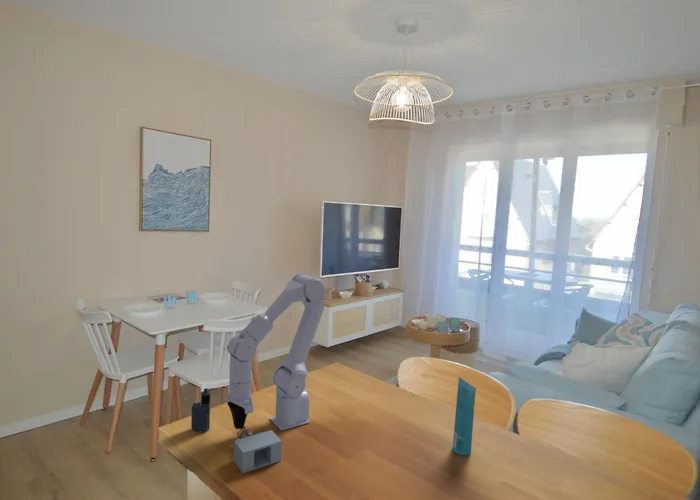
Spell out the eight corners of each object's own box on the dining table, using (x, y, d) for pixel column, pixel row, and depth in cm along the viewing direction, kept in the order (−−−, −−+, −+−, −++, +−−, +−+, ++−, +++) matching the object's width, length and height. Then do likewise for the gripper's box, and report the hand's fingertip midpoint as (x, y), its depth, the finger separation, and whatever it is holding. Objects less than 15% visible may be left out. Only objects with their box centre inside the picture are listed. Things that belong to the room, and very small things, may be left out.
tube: (477, 456, 110) (483, 386, 108) (463, 460, 108) (469, 389, 106) (459, 441, 116) (464, 376, 115) (445, 445, 114) (450, 378, 112)
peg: (260, 450, 106) (260, 437, 106) (246, 454, 104) (247, 441, 103) (250, 437, 112) (250, 424, 111) (237, 441, 110) (237, 428, 109)
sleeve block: (281, 460, 103) (281, 441, 103) (242, 473, 98) (243, 452, 97) (270, 447, 109) (270, 429, 108) (233, 459, 103) (233, 439, 102)
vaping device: (206, 433, 114) (207, 391, 113) (189, 430, 115) (190, 389, 114) (211, 428, 117) (212, 387, 115) (194, 426, 118) (195, 385, 116)
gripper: (217, 373, 116) (216, 419, 117) (235, 393, 104) (233, 444, 105) (241, 368, 120) (240, 413, 121) (261, 387, 108) (259, 436, 109)
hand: (239, 427), depth 113 cm, fingers closed
